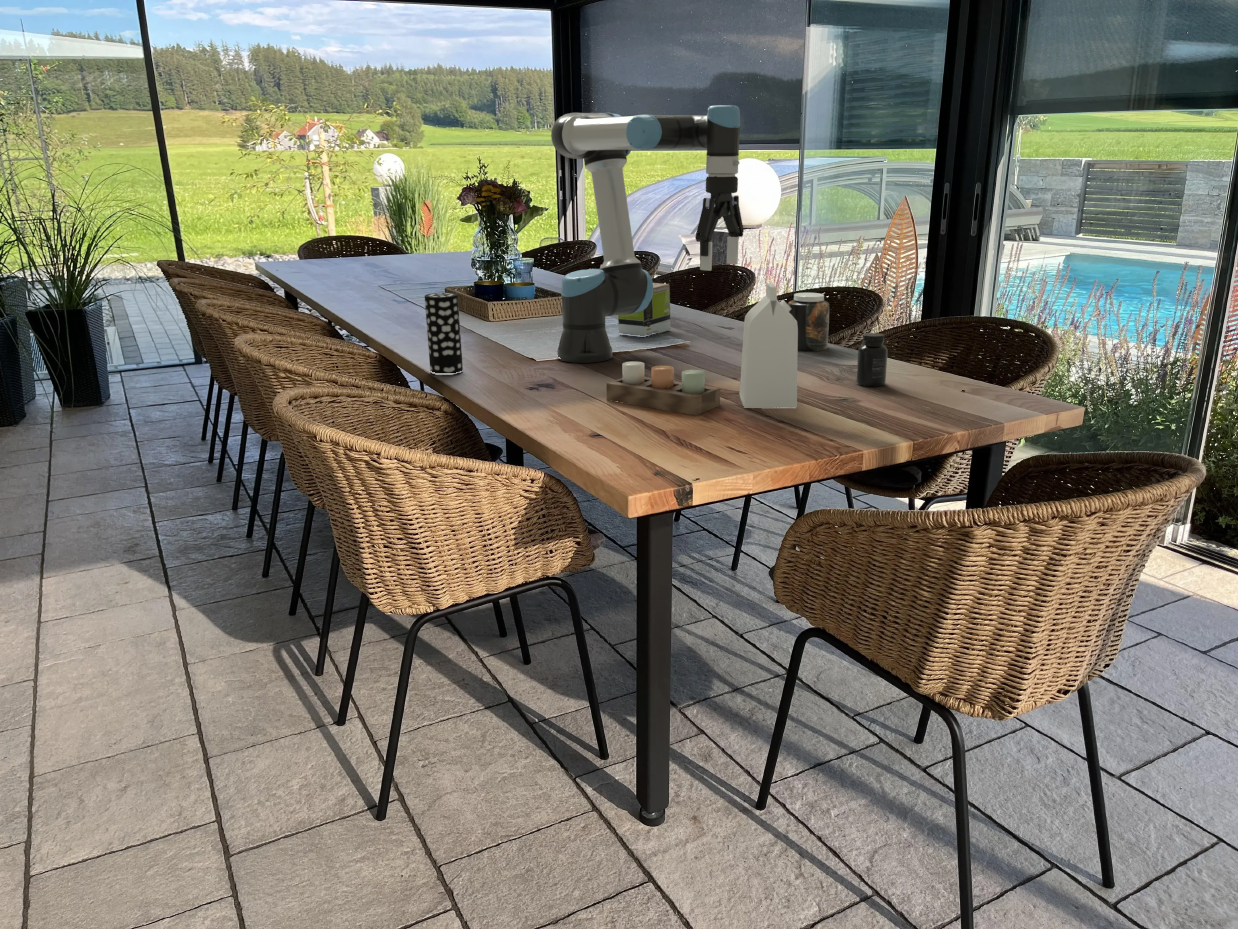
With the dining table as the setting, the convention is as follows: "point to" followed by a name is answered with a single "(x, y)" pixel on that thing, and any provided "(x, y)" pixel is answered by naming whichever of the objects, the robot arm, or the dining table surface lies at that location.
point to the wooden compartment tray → (663, 397)
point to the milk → (769, 354)
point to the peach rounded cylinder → (662, 377)
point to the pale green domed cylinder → (693, 381)
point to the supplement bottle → (872, 360)
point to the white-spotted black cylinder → (443, 332)
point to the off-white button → (633, 373)
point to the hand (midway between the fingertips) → (719, 267)
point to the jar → (811, 320)
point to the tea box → (649, 315)
